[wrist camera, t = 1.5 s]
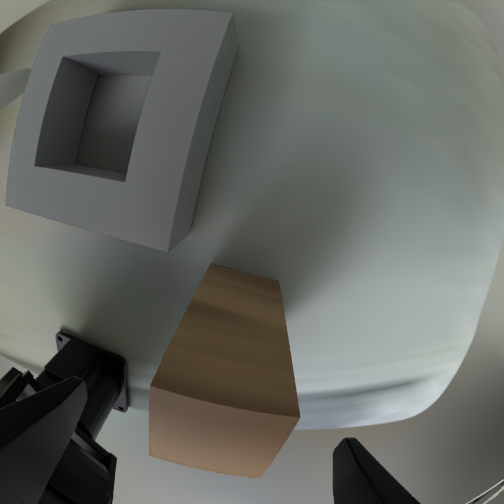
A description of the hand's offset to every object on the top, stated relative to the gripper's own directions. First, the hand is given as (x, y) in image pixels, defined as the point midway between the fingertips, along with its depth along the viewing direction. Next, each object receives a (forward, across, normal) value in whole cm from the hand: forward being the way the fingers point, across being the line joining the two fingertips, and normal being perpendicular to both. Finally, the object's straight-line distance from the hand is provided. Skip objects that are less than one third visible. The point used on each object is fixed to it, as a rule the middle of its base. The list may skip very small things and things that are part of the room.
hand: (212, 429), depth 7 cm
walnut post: (+9, 0, 0) cm, 9 cm away
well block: (+9, +9, -9) cm, 16 cm away
